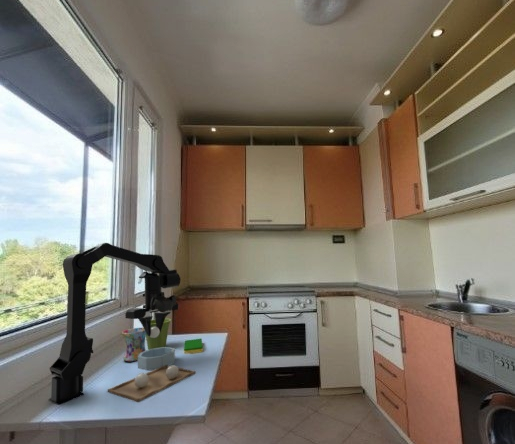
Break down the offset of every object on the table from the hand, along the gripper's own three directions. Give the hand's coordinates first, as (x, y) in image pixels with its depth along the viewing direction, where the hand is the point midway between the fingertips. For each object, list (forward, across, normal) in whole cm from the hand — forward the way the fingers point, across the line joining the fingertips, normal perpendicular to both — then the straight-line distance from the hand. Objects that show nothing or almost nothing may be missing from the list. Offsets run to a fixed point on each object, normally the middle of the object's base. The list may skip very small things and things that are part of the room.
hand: (154, 334), depth 102 cm
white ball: (+1, 0, 0) cm, 1 cm away
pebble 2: (+10, -6, -17) cm, 21 cm away
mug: (+11, +3, +15) cm, 18 cm away
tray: (+10, -10, -14) cm, 20 cm away
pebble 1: (+10, -14, -14) cm, 22 cm away
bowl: (+10, +1, 0) cm, 10 cm away
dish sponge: (+11, +20, +1) cm, 23 cm away
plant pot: (+11, +15, +18) cm, 25 cm away
